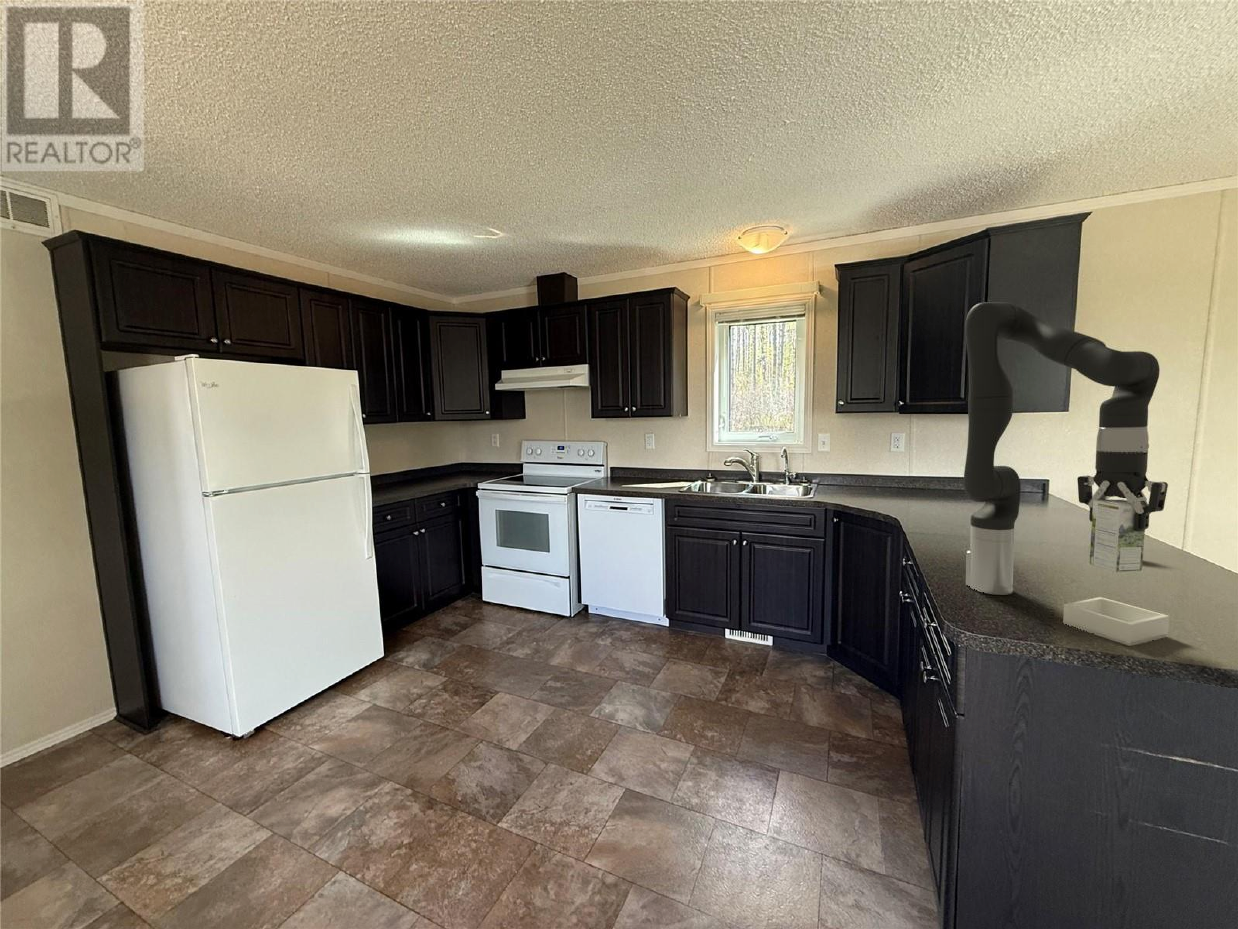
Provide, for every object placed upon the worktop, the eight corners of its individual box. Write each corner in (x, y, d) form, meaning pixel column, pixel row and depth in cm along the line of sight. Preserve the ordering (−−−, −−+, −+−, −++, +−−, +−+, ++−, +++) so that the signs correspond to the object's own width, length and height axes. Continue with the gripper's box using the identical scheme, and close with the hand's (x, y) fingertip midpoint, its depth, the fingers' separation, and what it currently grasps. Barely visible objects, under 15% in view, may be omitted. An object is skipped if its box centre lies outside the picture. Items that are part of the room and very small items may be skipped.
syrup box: (1114, 563, 106) (1116, 497, 105) (1143, 571, 100) (1147, 502, 99) (1088, 564, 106) (1091, 499, 105) (1117, 573, 100) (1120, 503, 99)
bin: (1063, 623, 108) (1063, 604, 108) (1099, 616, 111) (1100, 597, 111) (1129, 646, 97) (1131, 624, 97) (1167, 637, 100) (1169, 615, 100)
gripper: (1068, 448, 107) (1065, 523, 108) (1155, 451, 93) (1151, 537, 94) (1092, 446, 109) (1089, 519, 110) (1181, 449, 95) (1176, 533, 96)
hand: (1117, 527), depth 102 cm, fingers closed on syrup box, 6 cm apart
